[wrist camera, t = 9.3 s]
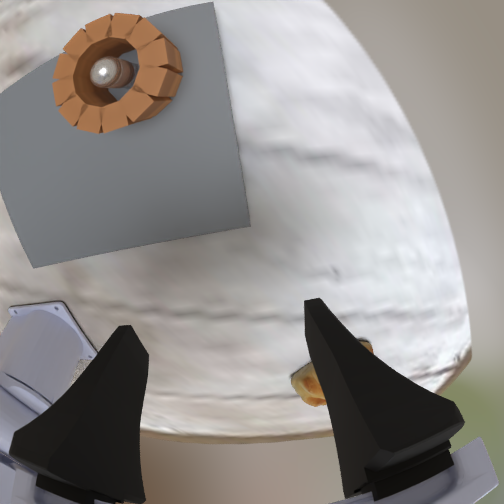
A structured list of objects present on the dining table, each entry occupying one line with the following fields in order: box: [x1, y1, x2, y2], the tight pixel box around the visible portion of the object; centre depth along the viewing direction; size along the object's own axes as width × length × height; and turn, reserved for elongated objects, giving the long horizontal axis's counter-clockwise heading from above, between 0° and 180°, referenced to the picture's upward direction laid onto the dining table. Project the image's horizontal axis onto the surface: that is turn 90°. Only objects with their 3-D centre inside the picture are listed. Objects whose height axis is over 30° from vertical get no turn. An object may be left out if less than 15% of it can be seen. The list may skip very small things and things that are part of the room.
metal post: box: [90, 56, 140, 89], centre depth 10 cm, size 2×2×4 cm
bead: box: [52, 13, 183, 134], centre depth 10 cm, size 6×6×4 cm
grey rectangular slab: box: [0, 2, 251, 269], centre depth 14 cm, size 18×14×2 cm
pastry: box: [291, 341, 374, 407], centre depth 27 cm, size 9×7×4 cm
